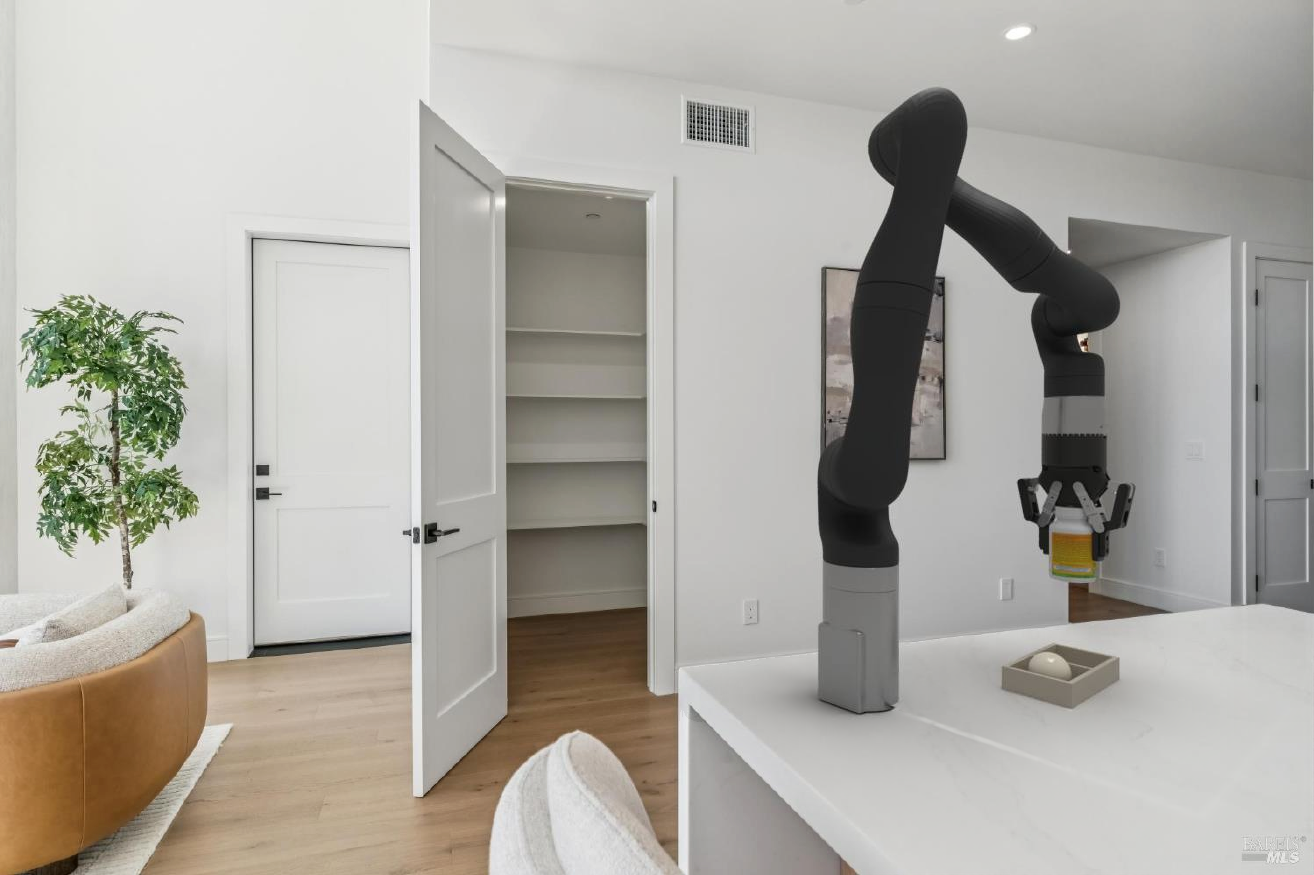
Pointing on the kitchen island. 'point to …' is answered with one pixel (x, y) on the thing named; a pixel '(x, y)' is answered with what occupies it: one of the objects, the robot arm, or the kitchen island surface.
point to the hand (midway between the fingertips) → (1073, 556)
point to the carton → (1086, 680)
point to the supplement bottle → (1071, 546)
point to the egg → (1050, 666)
